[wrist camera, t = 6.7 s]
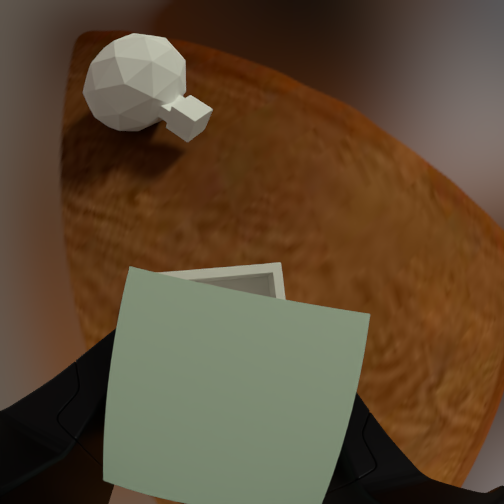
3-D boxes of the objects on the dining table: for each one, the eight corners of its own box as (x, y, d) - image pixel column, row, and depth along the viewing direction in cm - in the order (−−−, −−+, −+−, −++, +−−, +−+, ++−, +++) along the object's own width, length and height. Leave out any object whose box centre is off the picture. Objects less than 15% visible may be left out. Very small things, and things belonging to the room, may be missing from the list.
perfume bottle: (66, 121, 20) (154, 189, 21) (65, 38, 12) (177, 99, 14) (130, 83, 25) (214, 137, 26) (145, 11, 17) (251, 62, 18)
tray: (286, 387, 20) (295, 396, 17) (164, 399, 18) (158, 410, 16) (272, 268, 22) (280, 262, 19) (150, 278, 20) (142, 273, 18)
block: (249, 387, 14) (319, 509, 4) (175, 373, 14) (103, 480, 3) (263, 316, 15) (369, 313, 4) (189, 301, 15) (130, 266, 4)
